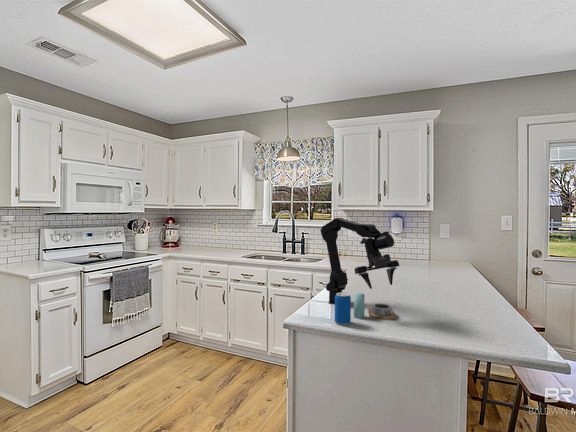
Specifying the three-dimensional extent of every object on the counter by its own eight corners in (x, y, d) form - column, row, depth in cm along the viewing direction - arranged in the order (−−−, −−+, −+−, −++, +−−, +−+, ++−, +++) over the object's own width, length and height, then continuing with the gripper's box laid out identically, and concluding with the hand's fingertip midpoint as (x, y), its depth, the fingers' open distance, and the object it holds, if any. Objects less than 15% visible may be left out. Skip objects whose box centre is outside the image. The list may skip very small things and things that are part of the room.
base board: (369, 318, 140) (369, 316, 140) (368, 310, 151) (368, 308, 151) (396, 320, 138) (396, 317, 138) (392, 312, 149) (392, 310, 149)
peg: (354, 318, 140) (354, 295, 140) (353, 315, 145) (354, 292, 145) (364, 319, 140) (364, 295, 139) (363, 315, 144) (364, 293, 144)
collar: (372, 315, 141) (372, 308, 141) (371, 309, 150) (371, 303, 150) (392, 316, 140) (392, 309, 140) (390, 310, 148) (390, 304, 148)
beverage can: (339, 319, 139) (340, 291, 139) (353, 322, 135) (353, 293, 135) (331, 323, 134) (332, 294, 134) (345, 326, 130) (345, 297, 130)
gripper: (357, 252, 136) (366, 290, 133) (399, 245, 138) (409, 282, 134) (351, 256, 147) (358, 290, 143) (390, 249, 149) (398, 283, 145)
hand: (381, 286), depth 141 cm, fingers open, 9 cm apart
